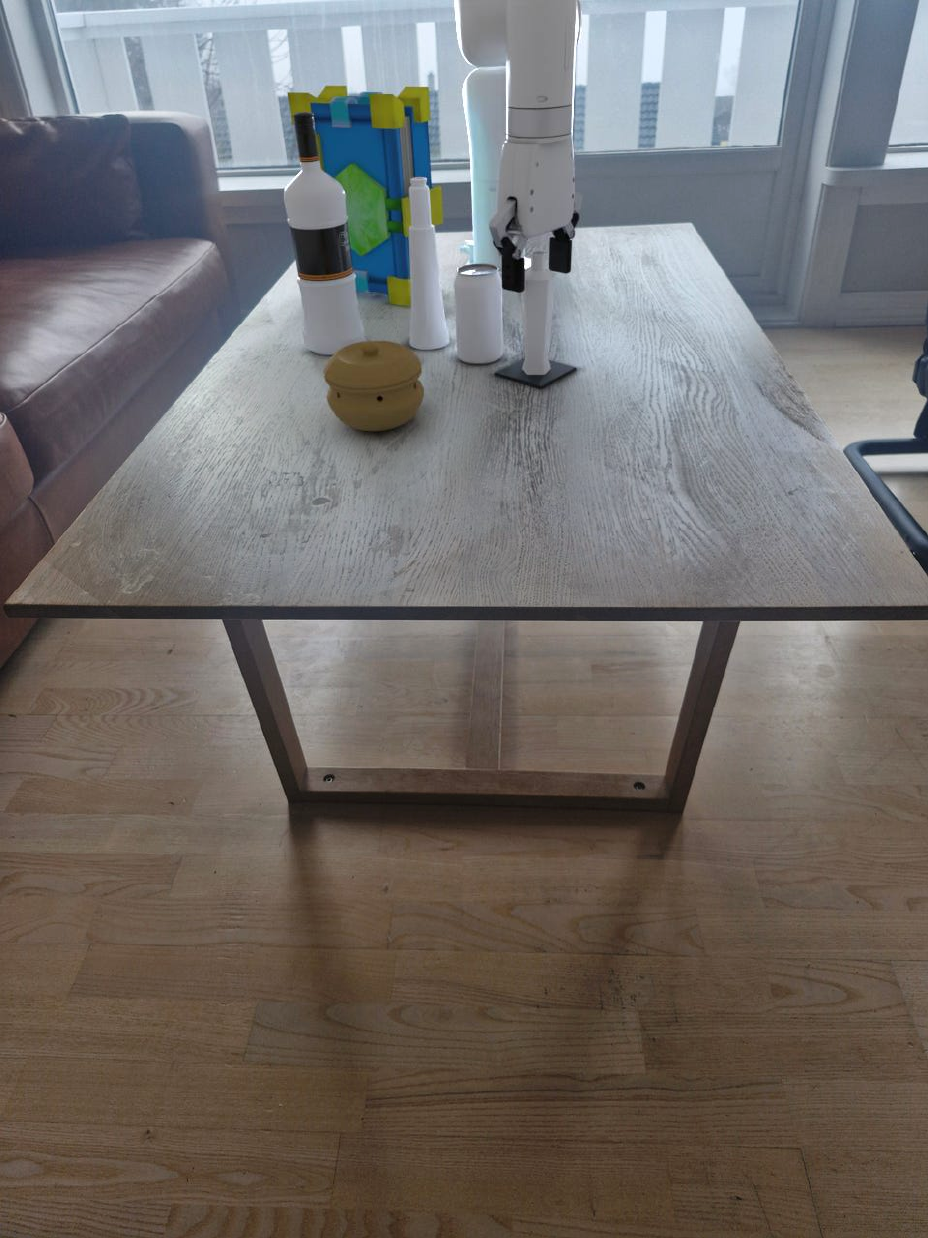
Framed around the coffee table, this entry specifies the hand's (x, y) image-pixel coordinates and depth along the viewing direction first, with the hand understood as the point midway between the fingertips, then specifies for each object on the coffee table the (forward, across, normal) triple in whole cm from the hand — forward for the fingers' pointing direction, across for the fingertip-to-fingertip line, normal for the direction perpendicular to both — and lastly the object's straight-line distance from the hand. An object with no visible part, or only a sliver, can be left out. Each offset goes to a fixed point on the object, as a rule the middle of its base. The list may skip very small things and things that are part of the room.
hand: (537, 280), depth 101 cm
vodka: (+12, +9, -31) cm, 34 cm away
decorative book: (+12, -14, -46) cm, 50 cm away
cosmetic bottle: (+12, 0, -20) cm, 23 cm away
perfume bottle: (+12, 0, 0) cm, 12 cm away
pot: (+12, +24, -6) cm, 28 cm away
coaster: (+12, 0, 0) cm, 12 cm away
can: (+12, 0, -10) cm, 16 cm away
